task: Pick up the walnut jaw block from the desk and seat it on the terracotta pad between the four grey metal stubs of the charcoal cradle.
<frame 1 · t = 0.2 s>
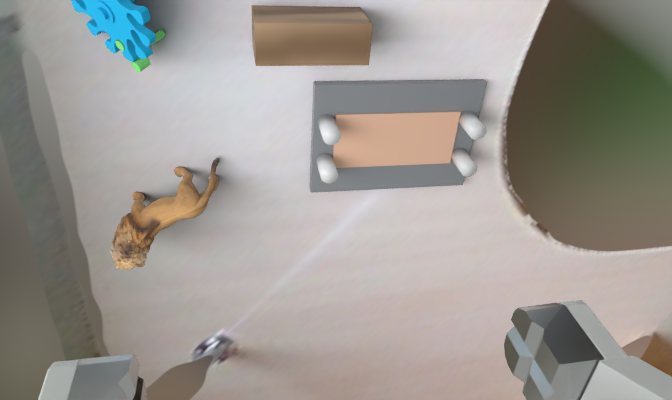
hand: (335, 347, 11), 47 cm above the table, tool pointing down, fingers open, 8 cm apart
jaw block: (305, 26, 55), on the table
blue spiky animal toy: (119, 3, 50), on the table
cradle: (393, 135, 64), on the table
lion figurine: (169, 193, 63), on the table
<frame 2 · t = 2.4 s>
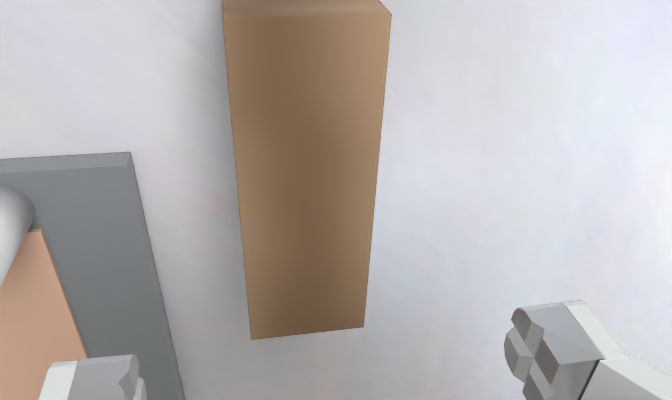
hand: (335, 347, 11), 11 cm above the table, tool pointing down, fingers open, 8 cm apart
jaw block: (288, 117, 20), on the table
cradle: (13, 349, 24), on the table
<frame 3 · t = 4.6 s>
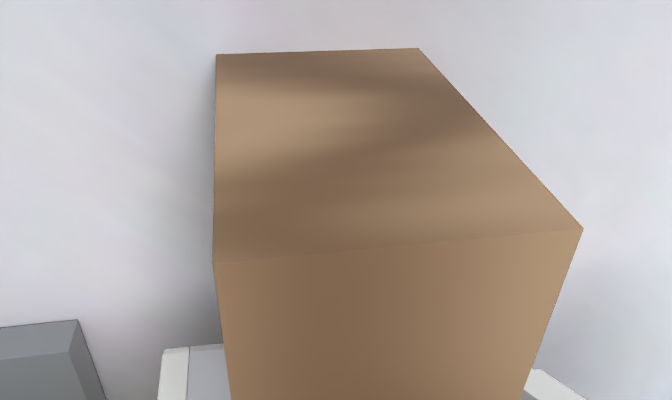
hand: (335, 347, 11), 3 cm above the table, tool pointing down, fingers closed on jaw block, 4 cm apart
jaw block: (317, 263, 13), on the table, touching gripper
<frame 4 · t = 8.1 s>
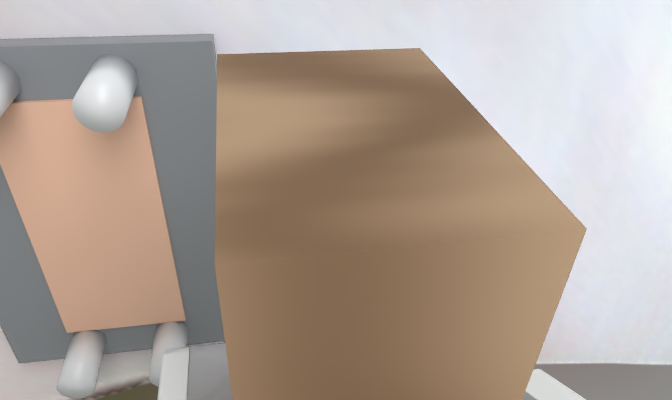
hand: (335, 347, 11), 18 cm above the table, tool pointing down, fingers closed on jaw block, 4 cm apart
jaw block: (318, 263, 13), point 15 cm above the table, touching gripper
cradle: (103, 217, 29), on the table
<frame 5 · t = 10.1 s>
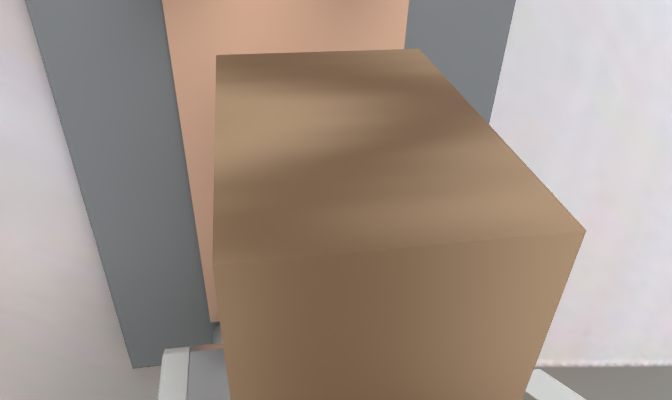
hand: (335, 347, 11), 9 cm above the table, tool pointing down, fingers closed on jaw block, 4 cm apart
jaw block: (317, 264, 13), point 7 cm above the table, touching gripper
cradle: (289, 140, 19), on the table
when the fingers open (5 cm above the table, at t = 11.9 s): jaw block stays where it is, resting on cradle.
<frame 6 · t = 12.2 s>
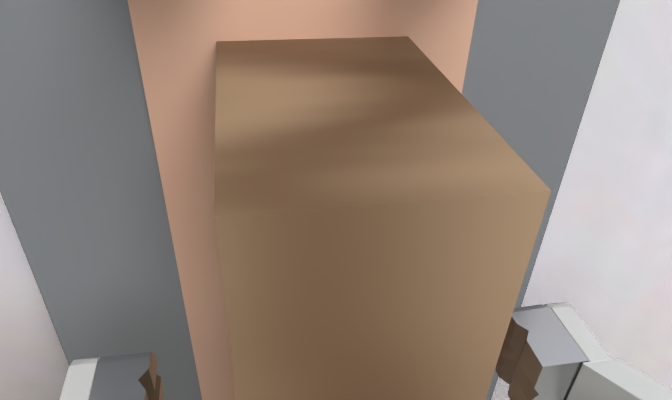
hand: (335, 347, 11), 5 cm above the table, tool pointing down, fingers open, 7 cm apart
jaw block: (313, 244, 14), point 1 cm above the table, touching cradle
cradle: (305, 221, 15), on the table
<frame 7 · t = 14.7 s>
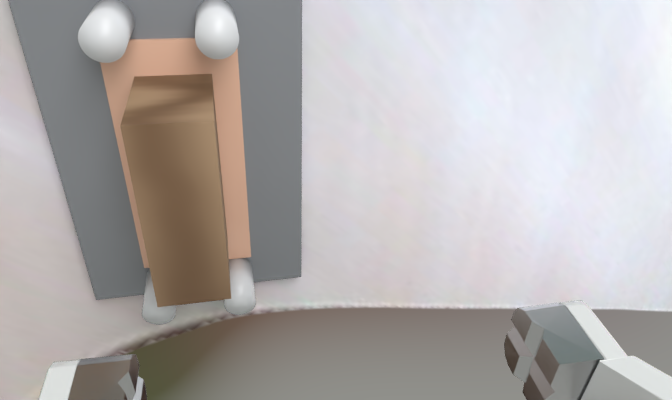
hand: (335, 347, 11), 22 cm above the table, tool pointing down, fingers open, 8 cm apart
jaw block: (185, 164, 31), point 1 cm above the table, touching cradle
cradle: (185, 156, 32), on the table
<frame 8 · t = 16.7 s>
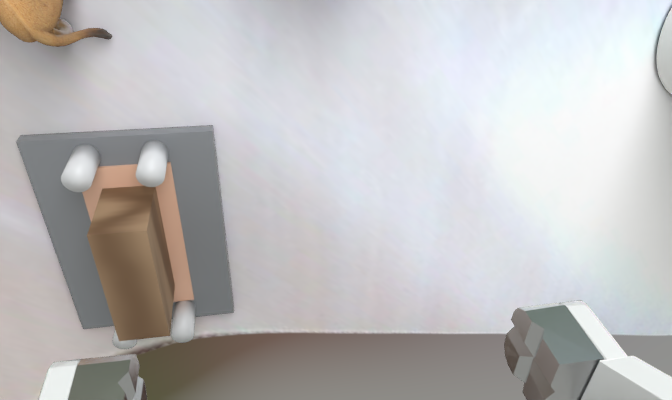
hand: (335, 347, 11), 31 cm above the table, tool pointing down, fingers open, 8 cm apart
jaw block: (141, 240, 45), point 1 cm above the table, touching cradle
cradle: (142, 232, 46), on the table
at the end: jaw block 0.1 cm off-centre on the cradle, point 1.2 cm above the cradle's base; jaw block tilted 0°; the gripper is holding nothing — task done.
